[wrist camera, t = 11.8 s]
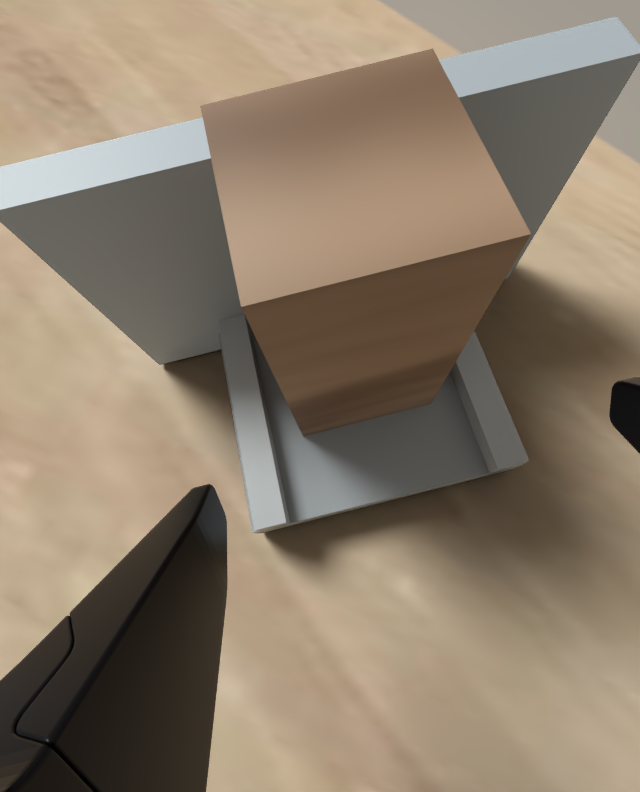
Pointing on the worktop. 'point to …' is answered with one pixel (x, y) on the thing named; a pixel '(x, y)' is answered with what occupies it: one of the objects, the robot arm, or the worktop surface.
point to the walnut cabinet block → (361, 233)
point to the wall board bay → (218, 296)
